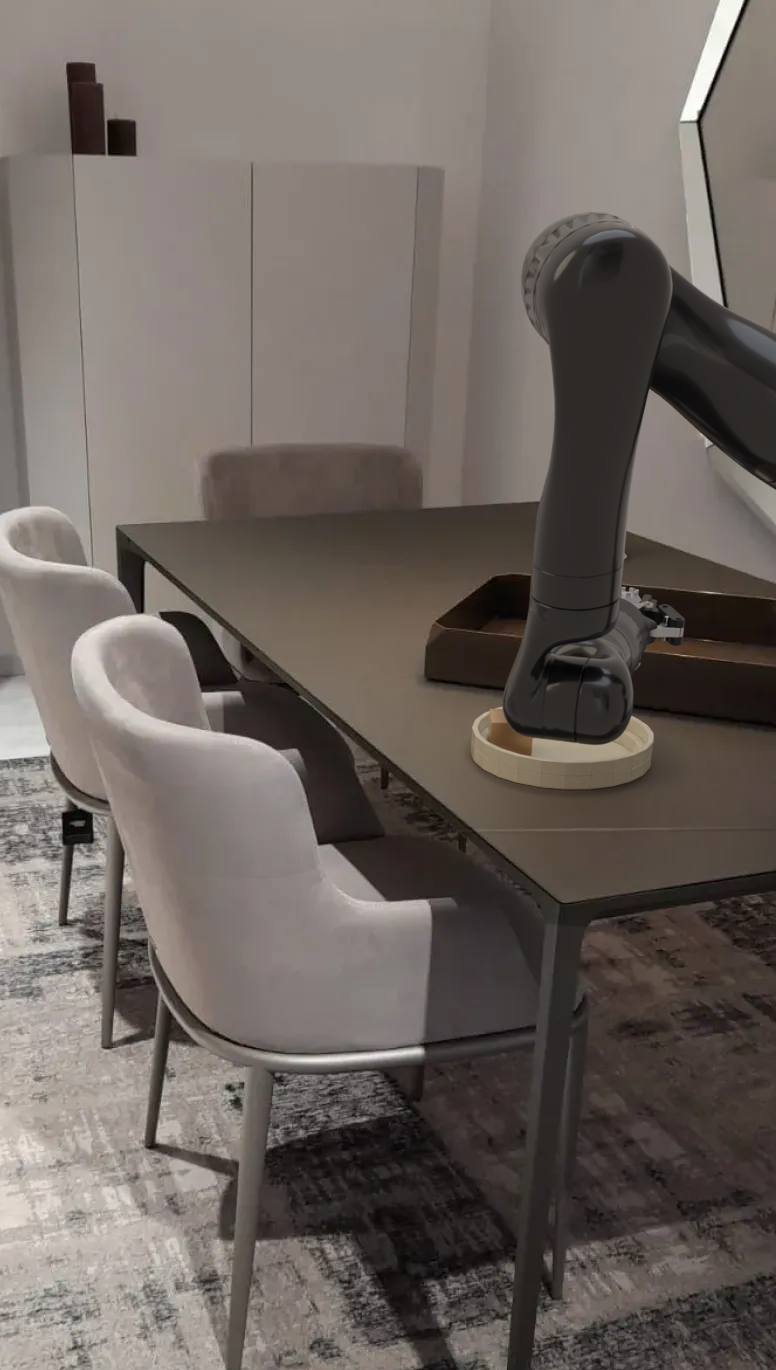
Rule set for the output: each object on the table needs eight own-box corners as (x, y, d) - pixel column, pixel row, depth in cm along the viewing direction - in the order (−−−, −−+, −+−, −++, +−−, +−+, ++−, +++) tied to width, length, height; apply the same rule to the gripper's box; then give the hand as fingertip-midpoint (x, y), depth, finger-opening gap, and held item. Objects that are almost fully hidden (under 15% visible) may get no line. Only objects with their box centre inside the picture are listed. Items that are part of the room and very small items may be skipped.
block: (528, 748, 152) (531, 709, 150) (530, 762, 148) (534, 723, 146) (487, 747, 152) (489, 708, 150) (488, 761, 148) (491, 722, 146)
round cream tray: (627, 729, 158) (630, 700, 157) (670, 793, 141) (674, 761, 140) (461, 731, 158) (462, 702, 157) (483, 794, 141) (485, 763, 140)
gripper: (684, 613, 123) (703, 571, 137) (527, 600, 127) (562, 561, 142) (674, 693, 126) (693, 644, 140) (522, 678, 131) (556, 632, 145)
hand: (627, 603), depth 141 cm, fingers closed on rook chess piece, 3 cm apart
